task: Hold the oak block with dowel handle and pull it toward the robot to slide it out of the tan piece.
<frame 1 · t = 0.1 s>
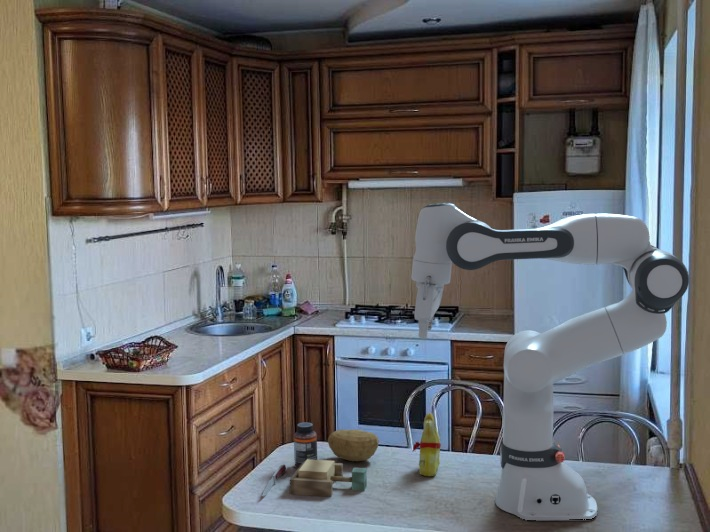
hand: (425, 333, 187), 39 cm above the table, tool pointing down, fingers open, 8 cm apart
supplement bottle: (306, 467, 212), on the table
tan piece: (319, 485, 199), on the table
knife: (273, 487, 200), on the table
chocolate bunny: (426, 470, 209), on the table
potato: (353, 460, 217), on the table
oak block with dowel handle: (317, 485, 199), on the table
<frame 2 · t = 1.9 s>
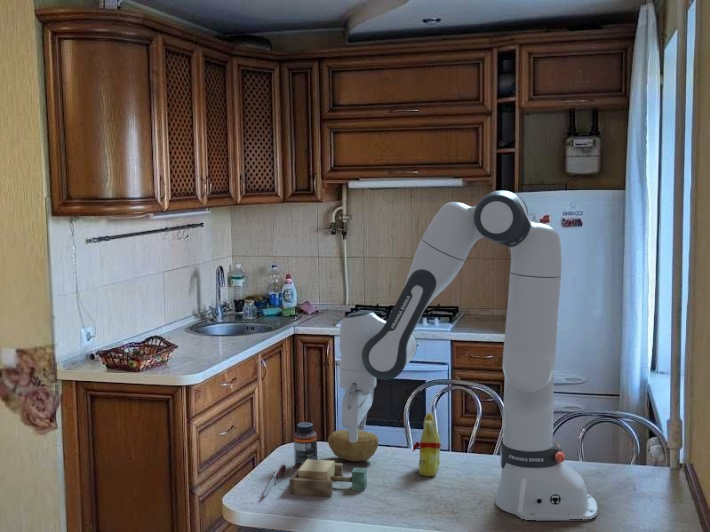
hand: (357, 435, 196), 13 cm above the table, tool pointing down, fingers open, 8 cm apart
nothing on the table moved.
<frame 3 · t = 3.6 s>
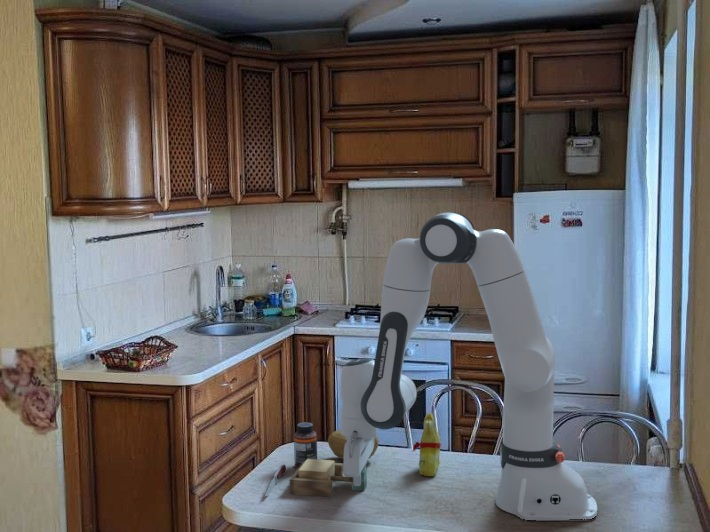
hand: (359, 481, 197), 2 cm above the table, tool pointing down, fingers closed on oak block with dowel handle, 3 cm apart
oak block with dowel handle: (317, 485, 199), on the table, touching gripper
everything else where it was.
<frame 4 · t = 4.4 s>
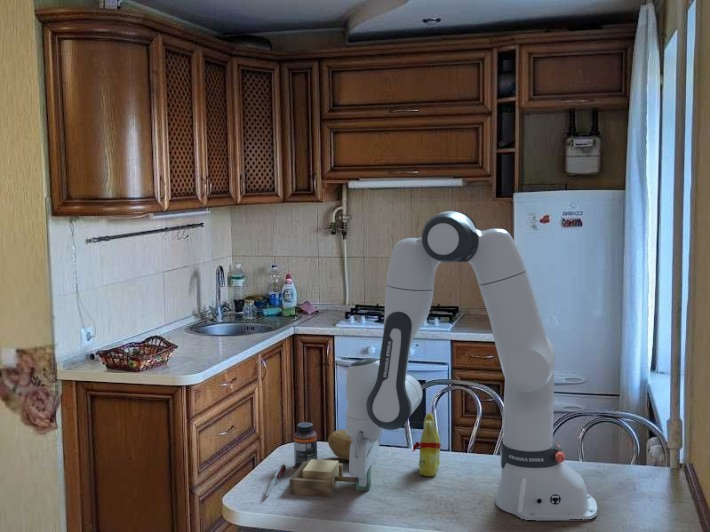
hand: (364, 482, 197), 2 cm above the table, tool pointing down, fingers closed on oak block with dowel handle, 3 cm apart
oak block with dowel handle: (321, 485, 199), on the table, touching gripper
everything else where it was.
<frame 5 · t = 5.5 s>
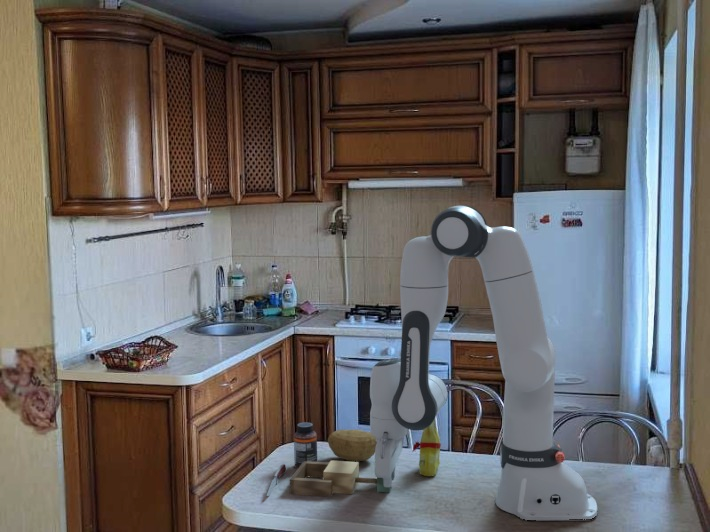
hand: (389, 482, 196), 2 cm above the table, tool pointing down, fingers closed on oak block with dowel handle, 3 cm apart
oak block with dowel handle: (341, 486, 198), on the table, touching gripper
everything else where it was.
when the fingers open (2 cm above the table, at t = 6.9 s): oak block with dowel handle stays where it is, on the table.
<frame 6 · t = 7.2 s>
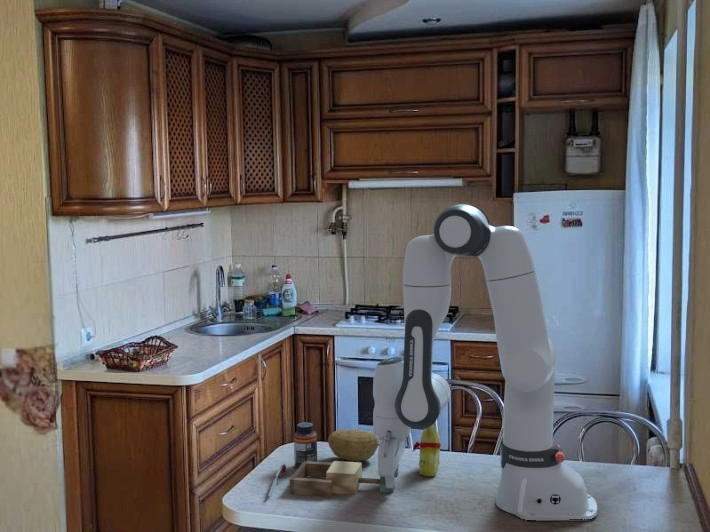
hand: (392, 481, 196), 2 cm above the table, tool pointing down, fingers open, 5 cm apart
oak block with dowel handle: (344, 487, 198), on the table
everything else where it was.
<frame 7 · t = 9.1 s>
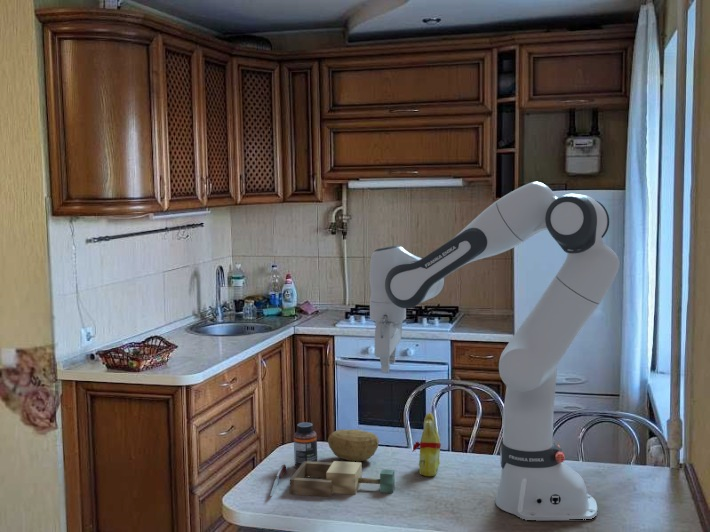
hand: (388, 367, 201), 28 cm above the table, tool pointing down, fingers open, 8 cm apart
nothing on the table moved.
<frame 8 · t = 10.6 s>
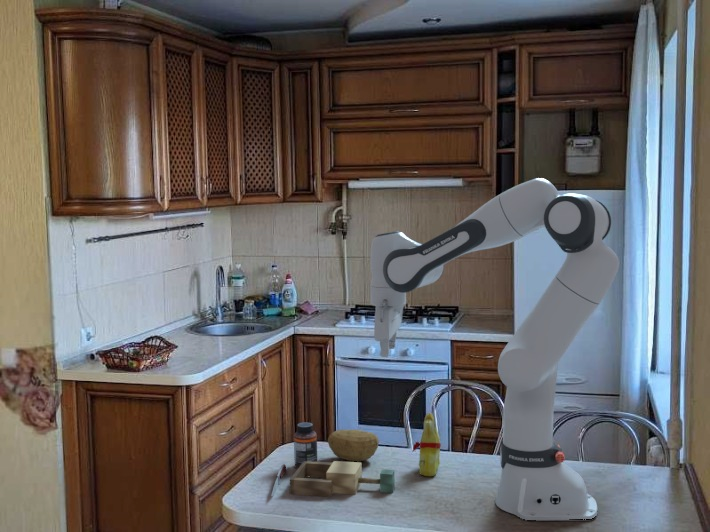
hand: (388, 352, 204), 31 cm above the table, tool pointing down, fingers open, 8 cm apart
at the end: oak block with dowel handle inside the target area (3.2 cm from its centre), on the table; oak block with dowel handle moved 6.8 cm from its start; the gripper is holding nothing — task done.
